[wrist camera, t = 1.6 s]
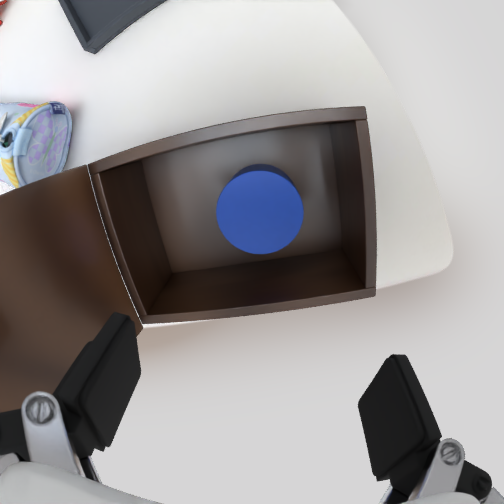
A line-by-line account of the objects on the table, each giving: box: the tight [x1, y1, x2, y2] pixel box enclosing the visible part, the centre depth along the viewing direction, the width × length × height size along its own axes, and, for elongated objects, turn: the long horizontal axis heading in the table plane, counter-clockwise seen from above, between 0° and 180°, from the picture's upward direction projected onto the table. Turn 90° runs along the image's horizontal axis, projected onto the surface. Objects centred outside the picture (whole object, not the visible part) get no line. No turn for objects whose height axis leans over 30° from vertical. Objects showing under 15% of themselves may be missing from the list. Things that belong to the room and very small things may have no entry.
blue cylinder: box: [216, 164, 304, 254], centre depth 21 cm, size 6×6×4 cm
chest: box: [88, 106, 377, 324], centre depth 20 cm, size 18×13×8 cm
